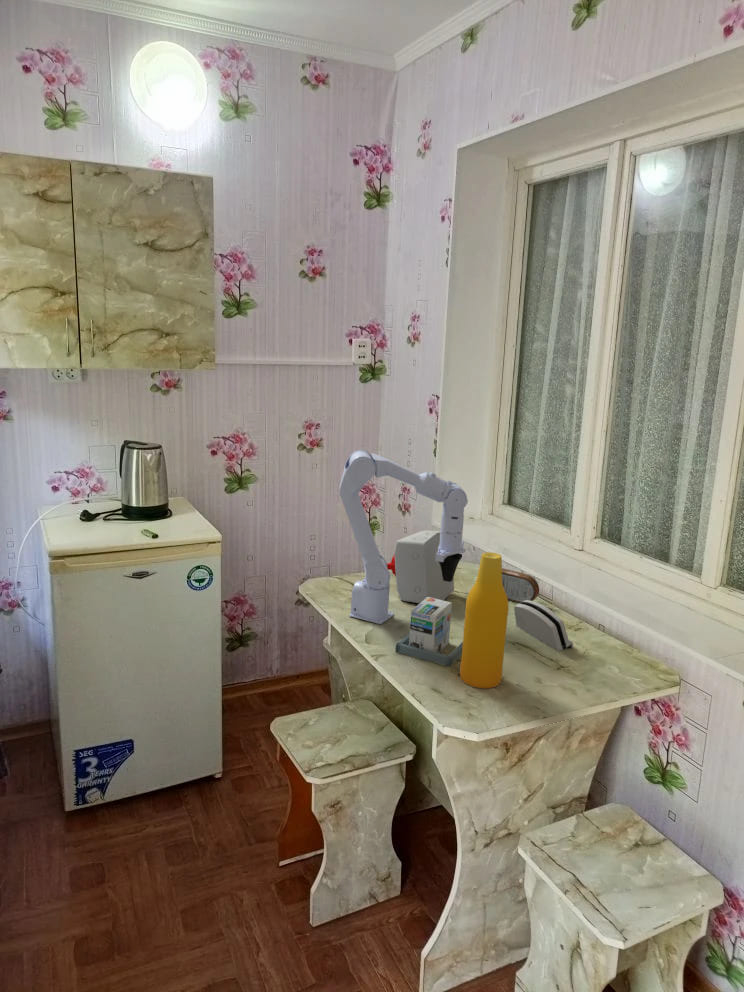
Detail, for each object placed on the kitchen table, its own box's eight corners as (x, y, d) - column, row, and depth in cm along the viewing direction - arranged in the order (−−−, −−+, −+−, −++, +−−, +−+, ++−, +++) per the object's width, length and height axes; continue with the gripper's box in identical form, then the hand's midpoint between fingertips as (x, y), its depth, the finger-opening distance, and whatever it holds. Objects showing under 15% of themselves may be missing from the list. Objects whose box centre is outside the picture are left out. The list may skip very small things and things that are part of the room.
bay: (395, 651, 180) (395, 644, 180) (421, 629, 193) (421, 622, 193) (450, 666, 174) (450, 658, 174) (473, 643, 187) (473, 635, 187)
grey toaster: (574, 648, 187) (568, 614, 183) (560, 657, 185) (553, 623, 182) (530, 622, 201) (524, 591, 197) (516, 630, 200) (509, 599, 196)
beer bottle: (473, 692, 163) (484, 564, 156) (452, 672, 171) (461, 550, 164) (509, 685, 167) (522, 560, 160) (487, 667, 175) (498, 547, 168)
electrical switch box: (411, 589, 227) (407, 524, 224) (454, 594, 218) (450, 527, 215) (383, 602, 215) (378, 534, 212) (428, 609, 207) (423, 538, 204)
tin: (538, 604, 214) (541, 576, 212) (534, 607, 212) (537, 579, 210) (489, 592, 222) (491, 564, 220) (484, 595, 219) (487, 567, 217)
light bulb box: (433, 659, 177) (436, 616, 175) (407, 652, 180) (409, 610, 178) (449, 642, 187) (453, 601, 184) (424, 636, 190) (427, 595, 187)
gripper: (455, 540, 188) (451, 592, 191) (475, 527, 201) (471, 575, 204) (429, 535, 191) (425, 586, 194) (450, 522, 204) (447, 570, 207)
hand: (447, 580), depth 199 cm, fingers closed
